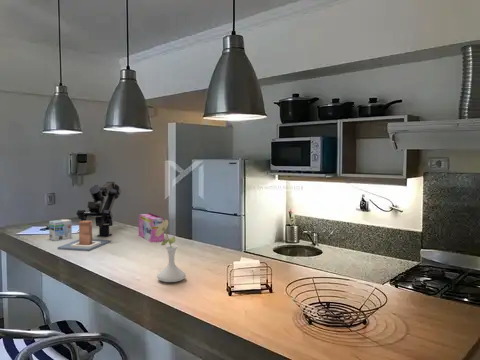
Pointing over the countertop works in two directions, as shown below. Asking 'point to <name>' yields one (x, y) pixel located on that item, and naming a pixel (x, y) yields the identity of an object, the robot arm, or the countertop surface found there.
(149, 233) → the gum box
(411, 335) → the countertop surface
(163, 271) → the flower in vase
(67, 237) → the light bulb box
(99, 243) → the board
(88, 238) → the terracotta block
